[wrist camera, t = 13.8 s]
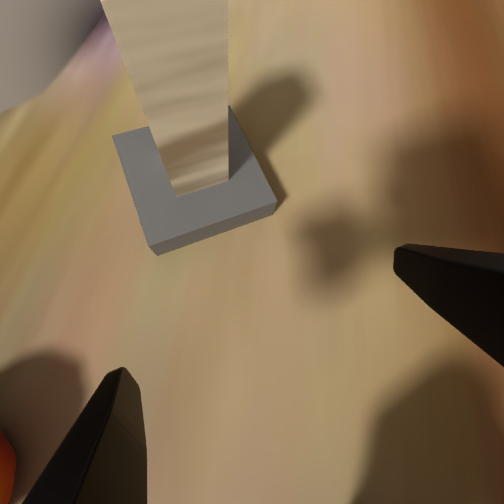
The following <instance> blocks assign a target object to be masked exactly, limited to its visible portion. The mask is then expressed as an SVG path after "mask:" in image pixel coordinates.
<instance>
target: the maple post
mask: <svg viewBox="0 0 504 504" xmlns="http://www.w3.org/2000/svg"><path fill="white" fill-rule="evenodd" d="M100 1H101V3H102V6H103V9H104V11H105V14H106V17H107V19H108V22H109V24H110V27H111V29H112V32H113V35H114V37H115V40H116V42H117V45H118V48H119V50H120V53H121V55H122V58H123V61H124V63H125V66H126V68H127V71H128V73H129V76H130V79H131V81H132V84H133V86H134V89H135V92H136V94H137V97H138V99H139V102H140V105H141V107H142V110H143V112H144V115H145V118H146V120H147V123H148V125H149V128H150V130H151V133H152V136H153V138H154V141H155V143H156V146H157V149H158V151H159V154H160V156H161V159H162V162H163V164H164V167H165V169H166V172H167V174H168V177H169V180H170V182H171V185H172V187H173V190H174V193H175V195H176V197H179V196H182V195H185V194H189V193H192V192H195V191H198V190H201V189H204V188H207V187H210V186H214V185H217V184H220V183H223V182H226V181H229V168H228V17H227V0H100Z"/></svg>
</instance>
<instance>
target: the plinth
mask: <svg viewBox="0 0 504 504" xmlns="http://www.w3.org/2000/svg"><path fill="white" fill-rule="evenodd" d="M112 137H113V140H114V143H115V146H116V149H117V152H118V155H119V158H120V161H121V164H122V167H123V170H124V173H125V176H126V179H127V182H128V186H129V189H130V192H131V195H132V198H133V201H134V204H135V207H136V210H137V213H138V216H139V219H140V222H141V225H142V228H143V231H144V234H145V237H146V240H147V243H148V246H149V247H150V248H151V249H152V251H153V252H154V253H155V254H156V255H157V256H158V255H161V254H164V253H167V252H170V251H172V250H175V249H178V248H181V247H183V246H186V245H189V244H192V243H195V242H197V241H200V240H203V239H206V238H209V237H211V236H214V235H217V234H220V233H223V232H225V231H228V230H231V229H234V228H237V227H239V226H242V225H245V224H248V223H251V222H253V221H256V220H259V219H262V218H264V217H267V216H270V215H273V213H274V210H275V207H276V204H277V202H278V201H277V199H276V197H275V195H274V193H273V191H272V189H271V187H270V185H269V183H268V181H267V179H266V177H265V175H264V173H263V171H262V169H261V167H260V165H259V163H258V161H257V159H256V157H255V155H254V153H253V151H252V149H251V147H250V145H249V143H248V141H247V139H246V137H245V135H244V133H243V131H242V129H241V127H240V125H239V123H238V121H237V119H236V117H235V115H234V113H233V111H232V109H231V107H230V106H228V168H229V181H226V182H223V183H220V184H217V185H214V186H210V187H207V188H204V189H201V190H198V191H195V192H192V193H189V194H185V195H182V196H179V197H176V195H175V193H174V190H173V187H172V185H171V182H170V180H169V177H168V174H167V172H166V169H165V167H164V164H163V162H162V159H161V156H160V154H159V151H158V149H157V146H156V143H155V141H154V138H153V136H152V133H151V130H150V128H149V126H148V127H144V128H140V129H136V130H132V131H128V132H124V133H120V134H116V135H113V136H112Z"/></svg>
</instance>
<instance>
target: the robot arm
mask: <svg viewBox="0 0 504 504" xmlns="http://www.w3.org/2000/svg"><path fill="white" fill-rule="evenodd" d="M393 269H394V272H395V274H396V275H397V276H398V277H399V278H400V279H401V280H402V281H403V282H404V283H405V284H406V285H407V286H408V287H409V288H410V289H412V290H413V291H414V292H415V293H416V294H417V295H418V296H419V297H420V298H421V299H422V300H423V301H424V302H425V303H426V304H427V305H428V306H429V307H430V308H432V309H433V310H434V311H435V312H436V313H438V314H439V315H440V316H441V317H442V318H444V319H445V320H446V321H447V322H449V323H450V324H451V325H452V326H454V327H455V328H456V329H457V330H459V331H460V332H461V333H462V334H463V335H465V336H466V337H467V338H468V339H470V340H471V341H472V342H473V343H475V344H476V345H477V346H478V347H479V348H481V349H482V350H483V351H484V352H486V353H487V354H488V355H489V356H491V357H492V358H493V359H494V360H496V361H497V362H498V363H499V364H500V365H502V366H503V367H504V254H503V253H493V252H484V251H474V250H465V249H455V248H446V247H436V246H427V245H417V244H404V245H402V246H399V247H397V248H396V249H395V251H394V262H393ZM22 504H147V448H146V437H145V428H144V420H143V411H142V402H141V393H140V388H139V386H138V384H137V382H136V381H135V380H134V378H133V377H132V376H131V374H130V373H129V371H128V370H127V369H126V368H125V367H120V368H118V369H115V370H113V371H111V372H109V373H107V374H106V376H105V377H104V379H103V380H102V382H101V383H100V385H99V386H98V388H97V389H96V391H95V392H94V394H93V395H92V397H91V398H90V400H89V401H88V403H87V405H86V406H85V408H84V409H83V411H82V412H81V414H80V415H79V417H78V418H77V420H76V421H75V423H74V424H73V426H72V427H71V429H70V431H69V432H68V434H67V435H66V437H65V438H64V440H63V441H62V443H61V444H60V446H59V447H58V449H57V450H56V452H55V453H54V455H53V457H52V458H51V460H50V461H49V463H48V464H47V466H46V467H45V469H44V470H43V472H42V473H41V475H40V476H39V478H38V479H37V481H36V483H35V484H34V486H33V487H32V489H31V490H30V492H29V493H28V495H27V496H26V498H25V499H24V501H23V502H22Z"/></svg>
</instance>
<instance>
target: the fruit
mask: <svg viewBox="0 0 504 504" xmlns="http://www.w3.org/2000/svg"><path fill="white" fill-rule="evenodd" d="M16 466H17V461H16V454H15V451H14V449H13V448H12V446H11V445H10V443H9V442H8V440H7V438H6V436H5V434H4V433H3V431H2V430H1V429H0V504H8V503H9V500H10V498H11V495H12V491H13V486H14V477H15V472H16Z"/></svg>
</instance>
